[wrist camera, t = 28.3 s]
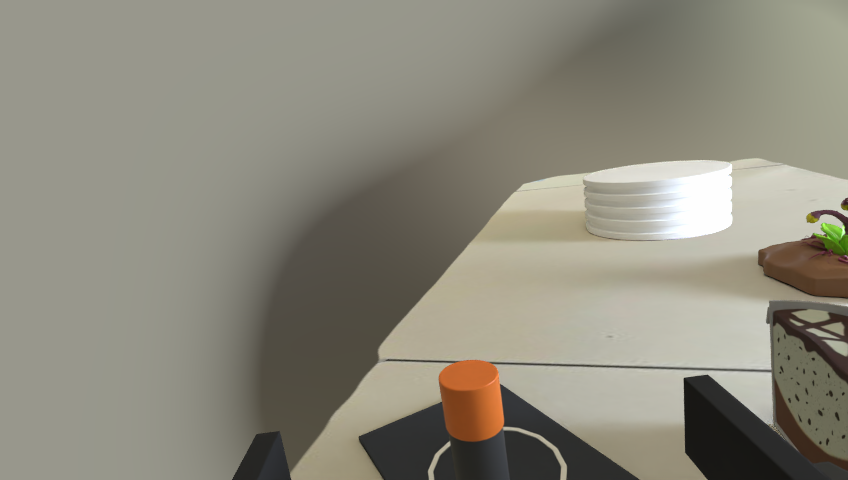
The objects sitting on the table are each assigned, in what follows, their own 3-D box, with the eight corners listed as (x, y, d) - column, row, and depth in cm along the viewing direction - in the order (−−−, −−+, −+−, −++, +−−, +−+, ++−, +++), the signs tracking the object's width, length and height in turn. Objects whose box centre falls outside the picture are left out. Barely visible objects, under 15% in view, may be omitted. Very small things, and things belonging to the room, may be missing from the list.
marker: (488, 608, 26) (457, 397, 23) (458, 565, 29) (428, 372, 26) (534, 578, 27) (510, 375, 25) (501, 540, 30) (476, 353, 27)
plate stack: (579, 217, 119) (575, 172, 117) (701, 205, 113) (700, 156, 111) (597, 246, 92) (593, 187, 90) (758, 231, 86) (759, 168, 84)
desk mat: (499, 663, 24) (498, 655, 24) (359, 440, 43) (358, 435, 43) (695, 523, 30) (695, 516, 30) (494, 383, 49) (494, 378, 49)
